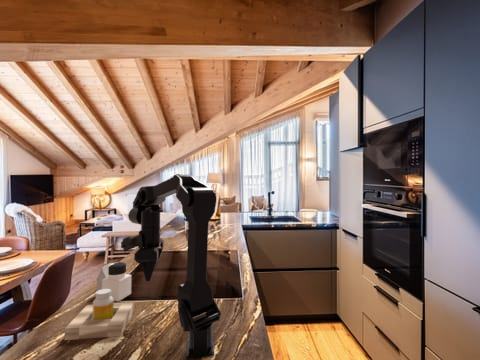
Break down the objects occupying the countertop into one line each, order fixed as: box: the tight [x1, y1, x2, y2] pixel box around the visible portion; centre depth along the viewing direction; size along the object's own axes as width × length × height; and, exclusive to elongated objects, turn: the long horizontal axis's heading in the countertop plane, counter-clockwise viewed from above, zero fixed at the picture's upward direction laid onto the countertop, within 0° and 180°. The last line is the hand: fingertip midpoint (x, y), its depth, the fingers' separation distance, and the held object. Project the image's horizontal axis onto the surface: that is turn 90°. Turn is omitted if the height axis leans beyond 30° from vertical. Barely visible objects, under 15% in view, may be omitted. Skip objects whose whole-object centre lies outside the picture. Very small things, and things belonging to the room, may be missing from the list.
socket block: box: [64, 301, 135, 341], centre depth 77 cm, size 14×14×3 cm
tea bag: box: [96, 262, 113, 292], centre depth 102 cm, size 4×7×10 cm, turn 178°
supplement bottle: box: [92, 289, 115, 320], centre depth 77 cm, size 5×5×10 cm
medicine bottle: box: [102, 261, 132, 302], centre depth 97 cm, size 7×7×12 cm
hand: (150, 276), depth 84 cm, fingers open, 9 cm apart
